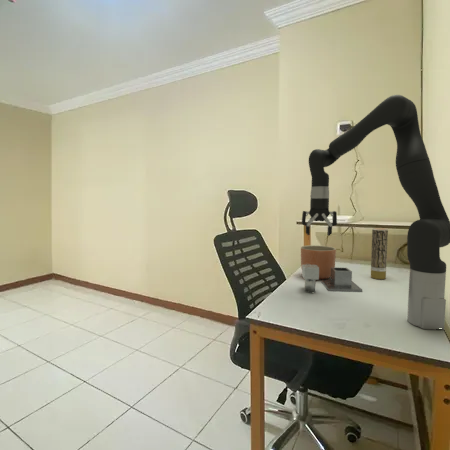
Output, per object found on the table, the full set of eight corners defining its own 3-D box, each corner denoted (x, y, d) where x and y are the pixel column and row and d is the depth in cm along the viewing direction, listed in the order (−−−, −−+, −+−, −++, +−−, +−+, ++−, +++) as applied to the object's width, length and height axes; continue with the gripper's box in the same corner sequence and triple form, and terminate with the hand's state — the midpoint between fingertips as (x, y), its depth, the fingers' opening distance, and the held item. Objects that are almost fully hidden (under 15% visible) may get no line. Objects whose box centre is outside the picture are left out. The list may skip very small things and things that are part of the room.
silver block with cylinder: (318, 293, 120) (319, 267, 119) (304, 293, 120) (304, 267, 120) (314, 287, 129) (314, 263, 128) (300, 286, 130) (301, 262, 129)
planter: (305, 271, 158) (306, 244, 156) (338, 275, 149) (339, 246, 147) (295, 278, 143) (296, 248, 142) (331, 283, 134) (331, 251, 133)
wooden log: (387, 280, 140) (390, 229, 138) (372, 279, 141) (374, 229, 139) (383, 276, 146) (385, 228, 144) (368, 275, 148) (370, 228, 146)
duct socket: (362, 291, 122) (362, 273, 121) (328, 290, 123) (328, 272, 123) (351, 282, 135) (352, 266, 135) (321, 281, 137) (321, 265, 136)
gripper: (303, 197, 119) (302, 236, 120) (339, 197, 117) (337, 236, 118) (301, 197, 126) (300, 233, 128) (334, 197, 124) (333, 234, 126)
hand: (318, 235), depth 123 cm, fingers open, 8 cm apart
